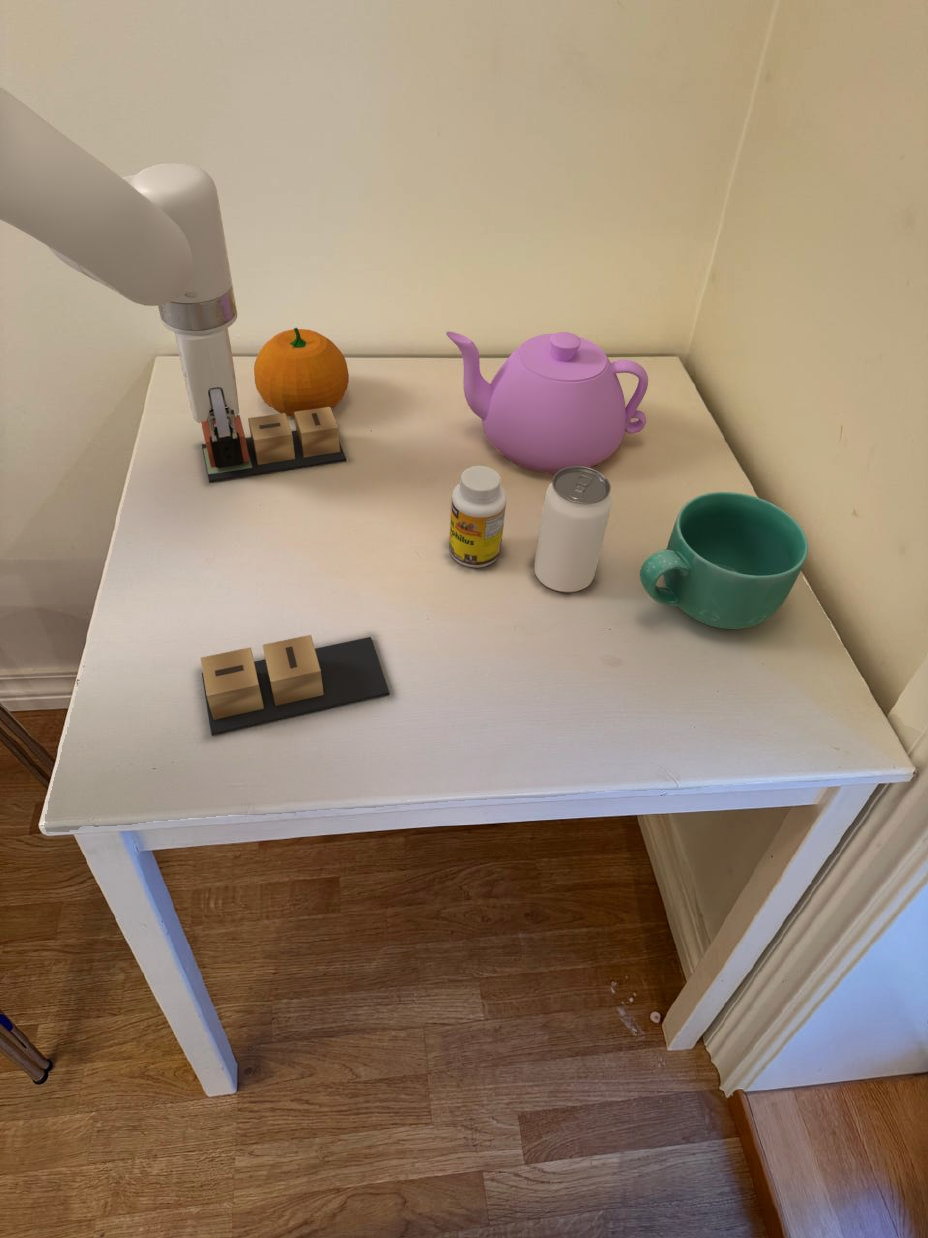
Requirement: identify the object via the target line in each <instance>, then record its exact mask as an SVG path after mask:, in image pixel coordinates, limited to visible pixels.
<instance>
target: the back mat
mask: <svg viewBox="0 0 928 1238" xmlns="http://www.w3.org/2000/svg"><path fill="white" fill-rule="evenodd" d="M291 432H292V436H293V444H294V453H295V459H294V460H287V461H281V462H274V463H268V464H261V465H258V463H257V460H256V456H255V452H254V448H253V445H252V440H251V436H249V437H245V439H246V444H247V450H248V456H249V462H246V463H243V464H241V465H235V466H228V467H222V468H217V467H213V468H211V466H210V461H209V457H208V452H207V448H206V443H202V444H201V449H202V453H203V460H204V465H205V469H206V473H207V480H208V483H214V482H224V481H230V480H235V479H241V478H248V477H254V476H260V475H266V474H271V473H272V474H273V473H278V472H284V471H285V472H286V471H292V470H298V469H303V468H304V469H305V468H311V467H317V466H324V465H330V464H336V463H343V462H347V457H346V455H345V452H344V449H343V446H342V445H341V442H340V441H339V443H340V452H338V453H332V454H325V455H319V456H313V457H306V458H304V457H303V454H302V451H301V448H300V445H299V441H298V438H297V433H296V430H291Z"/></svg>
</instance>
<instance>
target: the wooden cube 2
mask: <svg viewBox="0 0 928 1238" xmlns="http://www.w3.org/2000/svg"><path fill="white" fill-rule="evenodd" d="M262 651H263V655H264V659H265V661H266V666H267V671H268V675H269V680H270V684H271V689H272V693H273V698H274V702H275V706H278V705H282V704H287V703H291V702H296V701H300V700H304V699H309V698H313V697H318V696H322V695H324V692H323V684H322V676H321V670H320V666H319V662H318V659H317V655H316V651H315V645H314V640H313V637H312V635H311V634H308V635H303V636H298V637H294V638H289V639H284V640H278V641H274V642H270V643H265V644H262Z"/></svg>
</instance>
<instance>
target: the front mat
mask: <svg viewBox="0 0 928 1238" xmlns="http://www.w3.org/2000/svg"><path fill="white" fill-rule="evenodd" d="M314 648H315V647H314ZM315 651H316V655H317V659H318V662H319V666H320V670H321V676H322V684H323V692H324V695H322V696H318V697H313V698H309V699H304V700H300V701H296V702H291V703H287V704H282V705H278V706H275V702H274V698H273V693H272V689H271V684H270V680H269V675H268V671H267V666H266V661H265V658H264V659H260V660H254V663H255V668H256V672H257V677H258V682H259V687H260V691H261V696H262V701H263V706H264V709H260V710H256V711H252V712H247V713H243V714H238V715H234V716H230V717H225V718H221V719H216V720H214V719H213V716H212V712H211V709H210V706H209V702H208V699H207V695H206V689H205V683H204V676H203V671H202V672H201V677H202V685H203V690H204V696H205V703H206V704H205V705H206V710H207V715H208V716H207V717H208V722H209V728H210V735H211V736H216V735H221V734H225V733H230V732H235V731H238V730H242V729H246V728H251V727H255V726H261V725H264V724H268V723H269V724H270V723H272V722H277V721H282V720H286V719H290V718H294V717H299V716H303V715H309V714H311V713H316V712H321V711H325V710H329V709H333V708H338V707H342V706H346V705H351V704H356V703H360V702H364V701H367V700H372V699H377V698H382V697H386V696H389V695H390V690H389V687H388V683H387V680H386V678H385V674H384V671H383V669H382V666H381V663H380V660H379V656H378V654H377V651H376V648H375V645H374V642H373V640H372V636H367V637H362V638H358V639H354V640H348V641H344V642H340V643H333V644H329V645H324V646H321V647H316V648H315Z"/></svg>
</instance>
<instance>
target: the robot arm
mask: <svg viewBox="0 0 928 1238" xmlns="http://www.w3.org/2000/svg"><path fill="white" fill-rule="evenodd" d="M217 189H218V188H217V186H216V184H215V182H214V179H213V177H212V176H211V175H210V174H209V173H208V172H207V171H206V170H205V169H202V167H199V166H197V165H193V164H188V163H183V162H182V163H181V162H168V163H167V162H165V163H159V164H154V165H150V166H148V167H145V168H143V169H142V170H140V171H139V172H138V173H136V174H131V175H126V176H120V175H119V174H117V173H116V172H115V171H114V170H112V169H111V168H110V167H108V166H107V165H105V164H104V163H103V162H101V161H100V160H99V159H98V158H96V157H95V156H94V155H92V154H91V153H89V152H88V151H87V150H85V149H84V148H82V146H80V145H79V144H77V142H76V143H75V142H74V141H73V140H72V139H70V138H69V137H68V136H66V135H65V134H63V133H62V132H61V131H60V130H58V129H57V128H56V127H54V126H53V125H51V123H49V122H47V121H46V120H45V119H44V118H42V117H41V116H40V115H39V114H38V113H36V112H35V111H34V110H33V109H31V108H30V107H29V106H28V105H26V104H25V103H24V102H22V101H21V100H20V99H19V98H17V97H16V96H14V95H13V94H11V93H10V92H9V91H7V90H6V89H4V88H3V87H1V86H0V221H2V222H4V223H6V224H8V225H10V226H12V227H14V228H16V229H18V230H19V231H21V232H23V233H25V234H27V235H28V236H30V237H32V238H34V239H36V240H37V241H39V242H41V243H42V244H44V245H46V246H47V247H48V249H49V250H50V251H51V252H52V253H53V254H54V256H55V257H57V258H58V259H59V260H60V261H61V262H62V263H64V264H66V265H67V266H69V267H70V268H72V269H74V270H75V271H77V272H79V273H81V274H82V275H84V276H86V277H88V278H90V279H91V280H93V281H96V282H97V283H100V284H101V285H103V286H104V287H106V288H108V289H110V290H112V291H114V292H115V293H117V294H119V295H120V296H122V297H123V298H125V299H127V300H128V301H131V302H133V303H135V304H138V305H143V306H147V307H148V306H149V307H156V306H157V307H158V311H159V312H158V313H159V315H160V317H159V318H160V321H161V323H162V325H163V326H164V327H165V328H166V329H167V330H168V331H170V332H173V333H174V337H175V344H176V349H177V353H178V354H177V355H178V357H179V362H180V366H181V372H182V375H183V379H184V383H185V388H186V392H187V397H188V401H189V406H190V410H191V415H192V419H193V420H194V421H195V422H196V423H198V424H200V423H201V422H204V421H206V420H207V419H208V423H209V427H210V432H211V437H209V439H210V443H211V448H212V452H213V457H214V462H215V466H216V467H217V468H222V467H228V466H235V465H241V464H243V463H244V460H243V454H242V449H241V443H240V438H239V433H236V428H235V422H234V417H235V418H236V417H237V416H238V415H240V408H239V407H240V406H239V395H238V387H237V386H238V385H237V379H236V371H235V364H234V357H233V352H232V351H233V350H232V345H231V338H230V334H229V328H230V327H231V326H232V325H233V324H235V323H236V321H237V319H238V309H237V303H236V297H235V291H234V286H233V279H232V274H231V268H230V262H229V256H228V249H227V243H226V237H225V236H226V235H225V232H224V231H225V230H224V225H223V217H222V212H221V206H220V199H219V195H218V190H217ZM233 416H234V417H233ZM228 418H229V423H230V425H228V420H227V419H228ZM213 420H216V425H217V427H215V428H214V423H213Z"/></svg>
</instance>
